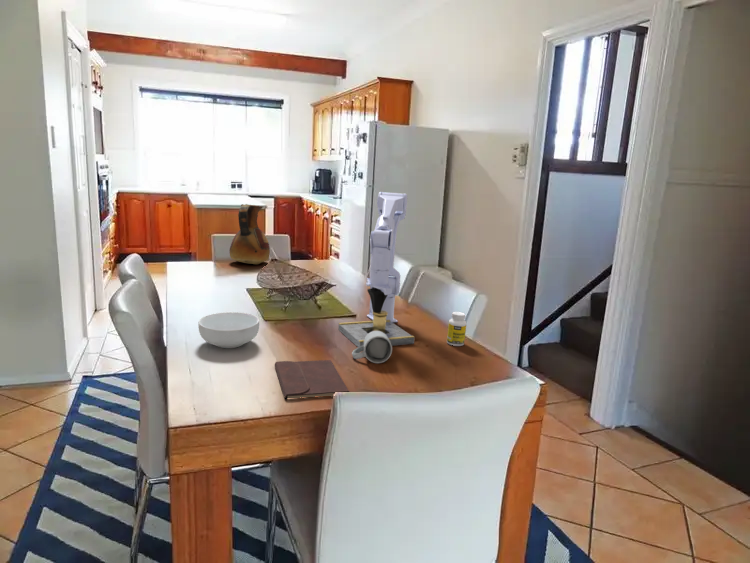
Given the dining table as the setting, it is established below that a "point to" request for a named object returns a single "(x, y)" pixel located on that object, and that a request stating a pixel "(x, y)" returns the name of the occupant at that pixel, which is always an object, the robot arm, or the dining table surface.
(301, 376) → the notebook
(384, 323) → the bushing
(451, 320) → the supplement bottle
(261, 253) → the ceramic pitcher
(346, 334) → the jig
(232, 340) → the cereal bowl
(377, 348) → the ceramic mug
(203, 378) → the dining table surface
